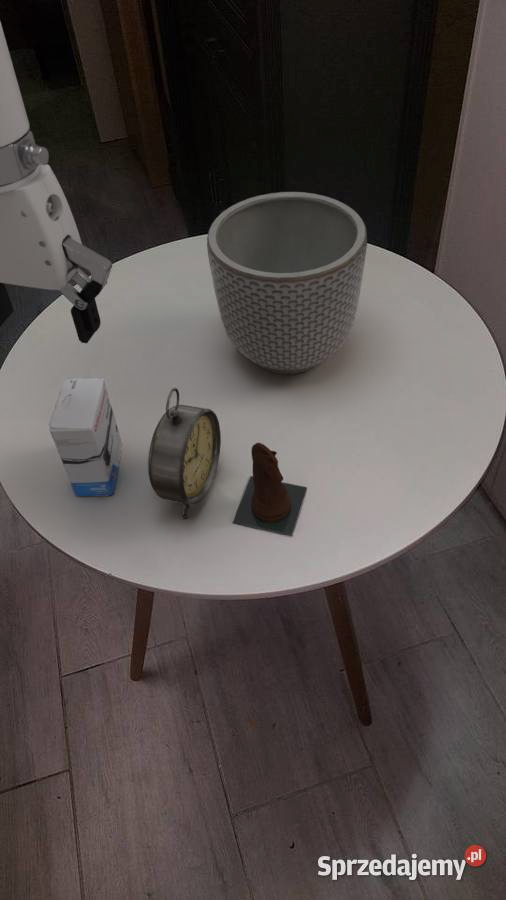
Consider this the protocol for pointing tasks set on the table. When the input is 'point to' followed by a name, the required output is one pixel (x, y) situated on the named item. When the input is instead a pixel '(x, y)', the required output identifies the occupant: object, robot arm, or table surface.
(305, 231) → the planter
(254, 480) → the chess piece
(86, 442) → the ink box
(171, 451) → the alarm clock
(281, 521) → the slate coaster
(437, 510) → the table surface
